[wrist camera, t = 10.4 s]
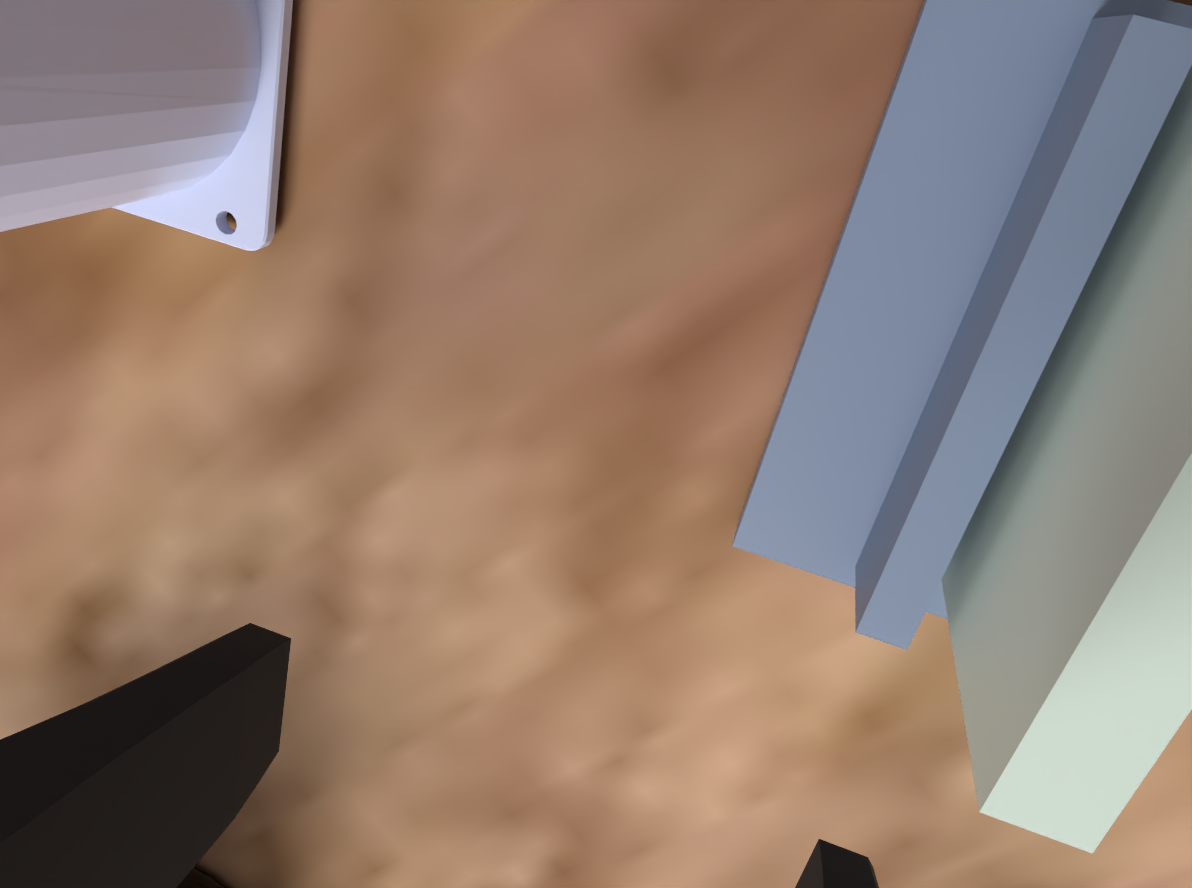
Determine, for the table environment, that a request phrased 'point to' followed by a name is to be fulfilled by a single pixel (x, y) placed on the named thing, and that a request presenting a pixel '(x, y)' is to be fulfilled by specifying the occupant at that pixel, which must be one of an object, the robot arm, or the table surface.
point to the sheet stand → (956, 284)
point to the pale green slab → (1090, 537)
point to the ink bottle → (198, 881)
